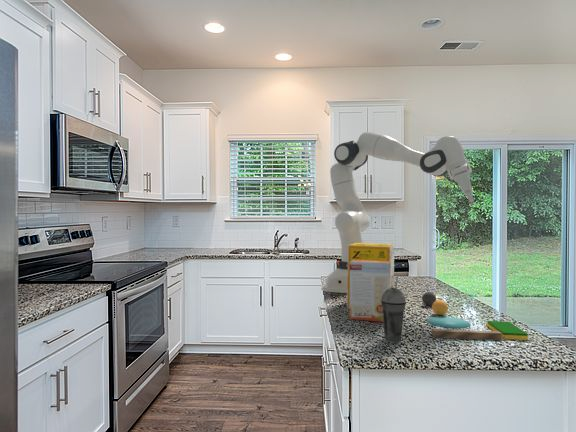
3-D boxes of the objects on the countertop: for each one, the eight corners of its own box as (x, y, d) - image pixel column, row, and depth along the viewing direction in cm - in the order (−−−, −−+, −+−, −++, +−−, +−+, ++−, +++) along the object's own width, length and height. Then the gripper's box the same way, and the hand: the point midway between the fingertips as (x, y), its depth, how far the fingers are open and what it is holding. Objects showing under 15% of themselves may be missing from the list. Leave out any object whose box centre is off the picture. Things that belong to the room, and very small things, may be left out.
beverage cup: (377, 336, 122) (378, 271, 122) (400, 336, 123) (401, 271, 122) (385, 344, 115) (385, 275, 115) (409, 344, 115) (410, 275, 115)
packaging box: (355, 299, 173) (355, 242, 173) (393, 303, 167) (394, 244, 167) (347, 308, 158) (347, 245, 158) (388, 312, 152) (389, 247, 152)
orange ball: (434, 316, 146) (434, 301, 146) (430, 312, 152) (430, 298, 152) (449, 317, 146) (450, 302, 146) (445, 313, 151) (445, 298, 151)
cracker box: (390, 319, 143) (391, 260, 142) (389, 323, 137) (390, 262, 137) (351, 315, 147) (352, 259, 147) (348, 319, 141) (349, 260, 141)
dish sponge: (503, 340, 121) (503, 332, 121) (486, 327, 135) (486, 320, 135) (528, 341, 120) (528, 333, 120) (508, 328, 134) (508, 321, 134)
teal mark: (433, 327, 132) (433, 326, 132) (422, 316, 146) (422, 315, 146) (477, 328, 131) (477, 328, 131) (462, 317, 145) (462, 317, 145)
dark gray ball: (423, 306, 161) (424, 293, 161) (420, 303, 167) (420, 290, 167) (437, 307, 161) (438, 293, 161) (433, 304, 166) (434, 291, 166)
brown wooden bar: (433, 337, 122) (433, 331, 122) (431, 335, 124) (431, 329, 124) (501, 339, 120) (501, 333, 120) (498, 337, 122) (498, 331, 122)
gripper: (454, 178, 177) (465, 207, 174) (450, 171, 159) (463, 203, 156) (468, 172, 174) (480, 202, 171) (466, 164, 156) (479, 197, 153)
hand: (472, 202), depth 163 cm, fingers open, 8 cm apart
